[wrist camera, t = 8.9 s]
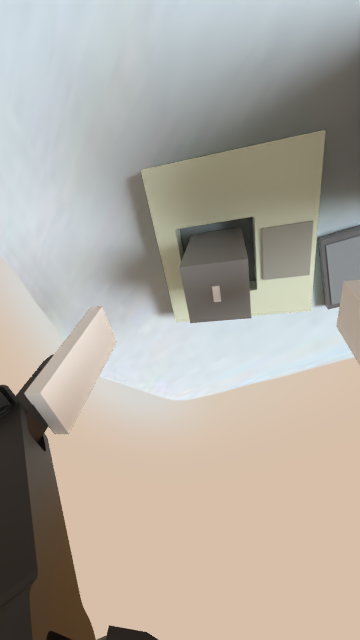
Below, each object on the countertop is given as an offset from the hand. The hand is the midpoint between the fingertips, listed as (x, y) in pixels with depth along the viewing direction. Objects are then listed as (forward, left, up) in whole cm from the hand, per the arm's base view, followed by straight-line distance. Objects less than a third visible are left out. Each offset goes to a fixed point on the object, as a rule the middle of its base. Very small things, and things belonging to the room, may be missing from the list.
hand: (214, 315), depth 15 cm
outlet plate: (-1, +1, -12) cm, 12 cm away
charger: (+1, 0, -12) cm, 12 cm away
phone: (+3, +11, -12) cm, 16 cm away
